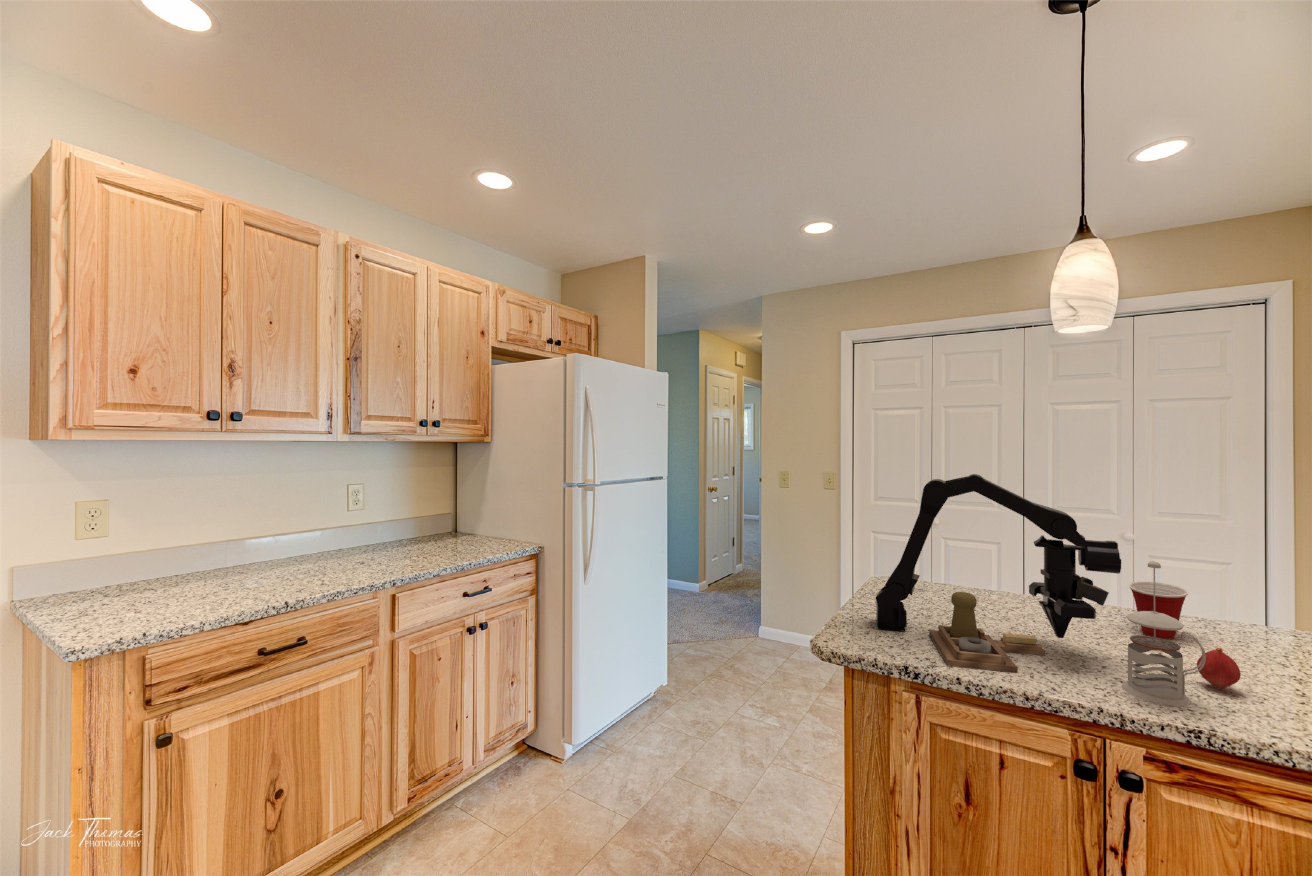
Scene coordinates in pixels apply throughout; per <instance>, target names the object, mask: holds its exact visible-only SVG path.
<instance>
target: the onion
mask: <svg viewBox="0 0 1312 876" xmlns="http://www.w3.org/2000/svg"><path fill="white" fill-rule="evenodd" d="M1205 655H1206V661H1205V664H1204V667H1203V668H1202V669H1201V670H1200V671H1198V673H1199V674H1200V675H1201V677H1202V678H1203V679H1204V680H1206V681H1207V682H1208V683H1209V684H1210V685H1212V686H1213V687H1214V688H1215V689H1218V690H1224V689H1227V688H1228V687H1231V686H1232V685H1234V684H1235V685H1236V684H1237V683H1238V682H1239V681H1240V680H1241V675H1242V674H1241V670H1240V667H1239V665H1238V664H1237V663H1236V662H1235V660H1234V659H1233V658H1232V657H1231V656H1229V655H1227V654H1226V653H1225V652H1224V651H1223V648H1222V647H1220V646H1219V647H1216V648H1215V649H1211V650H1209V651H1205ZM1201 660H1202V655H1201V656H1200V657H1199V658H1198V659H1197V661H1196V667H1197V666H1198V665H1199V663H1200V662H1201ZM1202 664H1203V662H1202ZM1202 664H1201V665H1202ZM1200 667H1201V666H1200ZM1200 667H1199V668H1200ZM1199 668H1197V669H1196V670H1198V669H1199Z"/></svg>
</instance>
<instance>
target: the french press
mask: <svg viewBox="0 0 1312 876" xmlns="http://www.w3.org/2000/svg"><path fill="white" fill-rule="evenodd" d="M1147 568H1151V569H1153V582H1154V611H1139V612H1137V611H1134V612H1132V613H1129V614H1127V615H1126V617H1125V618H1126V619H1127V621H1129V622H1131V623H1132V624H1134V625H1137V626H1140V627H1141V626H1144V627H1149V628H1154V637H1153V636H1152V637H1151V636H1147V635H1145V634H1143V635H1142V634H1141V635H1138V634H1137V635H1131V636H1130V637H1129V640H1130V641H1131V642H1130V643H1128V644H1127V680H1126V681H1124V682H1123V683H1122V684H1121V685H1120V687H1121V688H1122V689H1123V691H1125V692H1126V693H1129V694H1130V695H1132V696H1133V697H1136V698H1138V699H1141V700H1145V701H1148V702H1152V703H1155V704H1161V705H1165V706H1172V707H1173V706H1176V707H1184V706H1189V705H1191V703H1192V700H1191V699H1190V698H1189V697H1188V696H1187V694H1185V693H1186V691H1185V690H1186V687H1185V686H1186V684H1185V683H1186V676H1187V675H1188V676H1189V675H1193V674H1196V673H1199V671H1200V670H1201V669H1202V668H1203V667H1204V664H1205V661H1206V655H1205V653H1206V651H1205V649H1204V648H1203V645H1202V644H1201V642H1200V640H1199V639H1198V638H1196V637H1195V636H1193V635H1192V634H1190V633H1189V632H1188V631H1187V632H1186V631H1182V632H1180V636H1181V638H1180V639H1181V641H1183V642H1184V641H1185V637H1188V638H1190V639H1192V640H1193V641H1194V642H1196V643H1197V644H1198V646H1199V647H1200V650H1201V656H1202V660H1201V662H1200V663H1199V665H1198V666H1197V665H1196V666H1195V667H1193V668H1189V669H1185V670H1184V656H1183V654H1182V653H1181V651H1180V650H1181V648H1182V646H1181V645H1180V644H1179V643H1176V642H1174V641H1171V639H1169V640H1168V639H1162V638H1161V639H1160V638H1157V637H1155V629H1161V630H1176V631H1181V630H1183V628H1184V627H1185V624H1184V623H1182V622H1181V621H1180V620H1179V621H1178V620H1177V619H1175V618H1172V617H1170V616H1168V615H1165V614H1163V613H1158V612H1156V611H1155V582H1156V569H1162V566H1161V563H1159V562H1158V561H1155V560H1152V561H1151V560H1150V561H1148V563H1147ZM1151 651H1153V652H1154V651H1157V652H1158V651H1159V652H1162V653H1165V654H1166V655H1169V656H1170V657H1168V656H1166V655H1163V654H1161V653H1150V654H1147V652H1151ZM1133 662H1134V663H1133ZM1202 662H1203V664H1202ZM1201 664H1202V665H1201ZM1148 665H1161V666H1151V667H1145V666H1148ZM1200 666H1201V667H1200ZM1199 667H1200V668H1199ZM1197 668H1199V669H1197ZM1153 671H1158V672H1162V673H1154V672H1153ZM1191 671H1192V672H1191ZM1147 672H1153V673H1147ZM1143 673H1147V674H1143Z"/></svg>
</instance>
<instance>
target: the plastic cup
mask: <svg viewBox="0 0 1312 876" xmlns="http://www.w3.org/2000/svg"><path fill="white" fill-rule="evenodd" d="M1128 587H1129V589H1130V590H1131V592H1132V595H1133V599H1134V604H1135V608H1136V612H1139V611H1154V581H1140V580H1139V581H1132V582H1130V583H1128ZM1188 595H1189V591H1188V590H1187V589H1185V588H1182V587H1180V586H1177V585H1173V584H1169V583H1164V582H1158V581H1157V582H1156V581H1155V611H1156V612H1158V613H1163V614H1165V615H1168V616H1170V617H1172V618H1175V619H1177V620H1178V621H1179V622H1180V618H1181V614H1182V610H1183V609H1182V608H1183V605H1184V602H1185V600H1186V597H1187V596H1188ZM1140 629H1141V631H1142V632H1141V633H1142V634H1143V635H1144V636H1145V635H1146V636H1151V637H1152V636H1153V637H1154V628H1149V627H1144V626H1141V625H1140ZM1176 634H1177V630H1161V629H1155V637H1157V638H1160V639H1161V638H1162V639H1164V640H1165V639H1166V640H1168V641H1169V640H1174V639H1175V637H1176Z"/></svg>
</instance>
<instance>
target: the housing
mask: <svg viewBox="0 0 1312 876" xmlns="http://www.w3.org/2000/svg"><path fill="white" fill-rule="evenodd" d="M928 630H929V631H928V632H929V633H928V635H929V637H930V639H931V640H932V642H933V643H934V645H935V646H936V647H935V648H936V649H937V650H938V651H939V653H940V656H941V657H942V658H943V660H944V662H945V664H946V665H947V666H949V667H958V668H967V669H978V670H987V671H988V670H989V671H997V672H998V671H999V672H1008V673H1017V674H1018V667H1019V666H1018V665H1016V664H1015V662H1014V661H1013V660H1012V659H1011V658H1010V657H1009V656H1008V655H1007V653H1009V654H1021V655H1031V656H1038V657H1039V656H1041V657H1046V650H1045V649H1044V648H1043V646H1042V645H1040V644H1038V643H1037V646H1033V645H1022V644H1011V643H1006V645H1005V644H1004V642H1003V636H1002V637H1001V636H1000V640H999V639H994V638H992V637H991V636H990V635H989V634H986V633H985V632H984V630H983V629H982V628H979V627H977V632H978V638H975V637H962V638H952V637H950V630H951V625H943V624H941V625H940V624H938V629H937V630H935V629H934V630H933V629H928Z"/></svg>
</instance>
